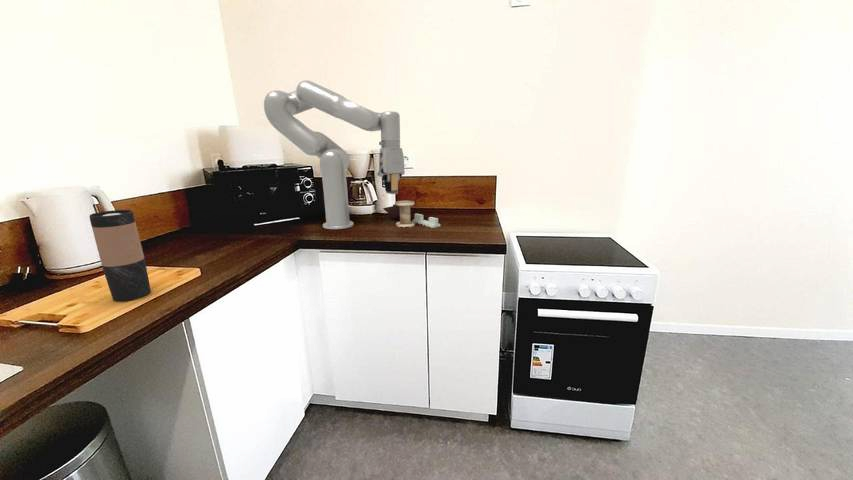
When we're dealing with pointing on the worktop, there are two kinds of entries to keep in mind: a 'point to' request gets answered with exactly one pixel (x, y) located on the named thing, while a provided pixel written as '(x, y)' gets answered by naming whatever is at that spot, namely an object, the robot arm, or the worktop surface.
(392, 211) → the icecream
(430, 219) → the notch board
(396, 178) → the tan rectangular block
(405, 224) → the spool
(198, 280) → the worktop surface
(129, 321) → the worktop surface
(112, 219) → the travel mug
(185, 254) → the worktop surface
